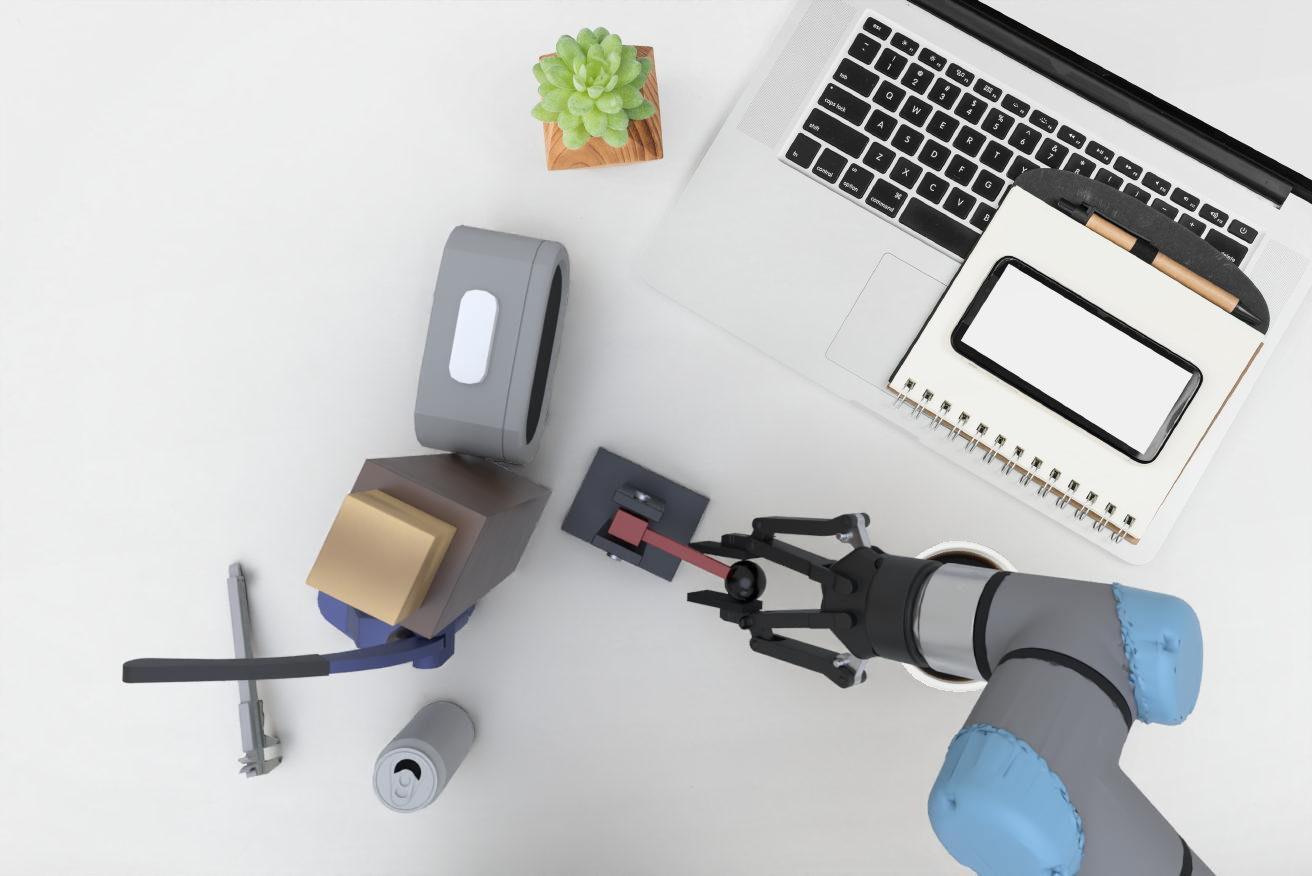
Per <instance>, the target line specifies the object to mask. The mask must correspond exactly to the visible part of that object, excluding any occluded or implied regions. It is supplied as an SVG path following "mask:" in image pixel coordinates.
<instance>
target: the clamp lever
mask: <svg viewBox="0 0 1312 876" xmlns="http://www.w3.org/2000/svg"><path fill="white" fill-rule="evenodd" d="M648 524H649V520H648V519H646V518H644V517H642V516H639V515H637V514H635V513H633V512H631V511H629V510H627V509H625V508H623V507H619V509H618V511H617V513H616V515H615V517H614V519H613V522H612V524H611V526H610V528H609V530H608V533H609V534H612V535H614V536H616V537H618V538H620V539H622V540H624V541H626V542H628V543H631V544H633V545H635V546H637V547H638V545H639V543H640V541H641V540H642V541H644V542H646V543H649V544H651V545H653V546H655V547H657V548H659V549H661V550H663V551H666V552H668V553H670V554H672V555H674V556H676V557H678V558H680V559H682V560H681V561H685V562H686V563H689V564H691V565H693V566H696V567H697V568H700V569H702V570H704V571H706V572H708V573H709V574H712V575H714V576H717V577H719V578H721V579H723V583H724V588H725V591H726V593H727V594H729V595H730V596H731V597H732V598H733V599H734V600H736V601H738V602H742V603H749V602H753V601H755V600H759V599H760V598H761V597H762V596H763V594H764V593H765V591H766V588H767V583H768V582H767V574H766V573H765V570H764V569H763V568H762V567H761V566H760V565H759V564H758V563H757V562H755V561H753V560H751V559H749V560H737V561H735V562H734V563H732V564H731V565H728V564H727V563H724V562H722V561H720V560H717V559H716V558H713V557H712V556H710V555H708V554H703V553H701V552H699V551H696V550H694V549H692V548H690V547H688V546H686V545H684V544H682V543H680V542H677V541H675V540H673V539H671V538H669V537H667V536H665V535H663V534H660V533H658V532H656V531H654V530H652V529H650V528H648V527H647V526H648Z"/></svg>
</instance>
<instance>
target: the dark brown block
mask: <svg viewBox="0 0 1312 876" xmlns="http://www.w3.org/2000/svg"><path fill="white" fill-rule="evenodd" d="M376 489H377V490H379V491H382V492H384V493H386V494H388V495H390V496H392V497H394V498H396V499H398V500H400V501H402V502H404V503H407V504H409V505H411V506H413V507H415V508H417V509H419V510H421V511H423V512H425V513H427V514H429V515H432V516H434V517H436V518H438V519H440V520H442V521H444V522H446V523H448V524H450V525H452V526H454V527H456V528H457V530H456V532H455V534H454V537H453V539H452V541H451V543H450V545H449V547H448V549H447V551H446V554H445V556H444V558H443V560H442V562H441V564H440V566H439V568H438V571H437V573H436V575H435V577H434V579H433V581H432V583H431V585H430V588H429V590H428V592H427V594H426V596H425V598H424V600H423V602H422V605H421V607H420V609H419V610H417V611H416V612H414V613H413V614H411V615H409V616H408V617H406V618H405V619H403V620H402V621H400V622H399V623H397V624H399V625H401V626H403V627H405V628H407V629H409V630H411V631H413V632H416V633H418V634H420V635H422V636H424V637H426V638H428V639H431V638H433V637H434V636H435V635H436V634H437V633H439V632H440V631H441V630H442V629H444V628H445V627H446V626H447V625H449V624H450V623H451V622H452V621H453V620H455V619H456V618H457V617H458V616H460V615H461V614H462V613H463V612H465V611H466V610H467V609H468V608H470V607H471V606H472V605H473V604H474V603H475V604H476V603H477V602H479V601H480V600H481V599H482V598H483V597H484V596H486V595H488V593H489V592H491V591H492V590H493V589H495V588H496V587H497V586H498V585H500V583H502V582H503V581H504V580H505V579H507V578H508V577H509V576H510V575H512V574H513V573H514V572H515V571H516V569H517V566H518V565H519V562H520V560H521V558H522V556H523V554H524V552H525V550H526V547H527V545H528V543H529V542H530V539H531V537H532V535H533V533H534V531H535V528H536V526H537V524H538V522H539V520H540V518H541V516H542V514H543V511H544V509H545V507H546V505H547V503H548V501H549V499H550V496H551V494H552V493H553V489H551V488H549V487H547V486H544V485H542V484H541V483H538V482H536V481H534V480H533V479H530V478H527V477H526V476H524V475H522V474H519V473H518V472H515V471H513V470H511V469H509V468H507V467H505V466H503V465H500V464H498V463H496V462H494V461H493V460H491V459H486V458H480V457H475V456H470V455H464V454H459V453H453V452H449V453H437V454H420V455H405V456H391V457H390V456H389V457H376V458H366V459H365V461H364V463H363V465H362V467H361V469H360V470H359V474H358V476H357V478H356V480H355V482H354V484H353V486H352V488H351V490H350V493H349V494H353V493H359V492H365V491H370V490H376Z"/></svg>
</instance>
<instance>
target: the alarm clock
mask: <svg viewBox="0 0 1312 876" xmlns="http://www.w3.org/2000/svg"><path fill="white" fill-rule="evenodd" d="M570 277H571V263H570V256H569V252H568V249H567V247H566V246H565V245H564V244H563V243H562V242H559V241H554V240H548V239H547V240H546V239H544V238H538V237H531V236H527V235H520V234H516V233H511V232H503V231H499V230H492V229H485V228H481V227H474V226H470V225H463V224H460V225H456V226H455V227H454V228H453V229H452V231H451V232H450V233H449V235H448V237H447V240H446V242H445V245H444V247H443V250H442V255H441V259H440V263H439V268H438V273H437V278H436V282H435V289H434V294H433V297H432V298H433V299H432V305H431V310H430V314H429V315H430V316H429V322H428V327H427V332H426V336H425V337H426V338H425V342H424V347H423V348H424V349H423V354H422V359H421V365H420V370H419V371H420V372H419V376H418V382H417V390H416V397H415V403H414V404H415V405H414V412H413V418H414V419H413V421H414V433H415V437H416V440H417V442H418V443H419V444H420V446H421V447H424V448H427V449H432V450H437V451H444V452H449V453H459V454H464V455H470V456H475V457H480V458H486V459H488V460H490V461H498V462H503V463H507V464H508V463H509V464H513V465H519V466H525V465H526V464H528V463H530V462H531V461H532V460H533V459H534V458H535V456H536V453H537V451H538V448H539V446H540V443H541V439H542V436H543V433H544V429H545V425H546V424H545V423H546V418H547V413H548V411H549V410H548V409H549V404H550V399H551V393H552V389H553V383H554V377H555V371H556V366H557V362H558V361H557V360H558V355H559V349H560V344H561V339H562V333H563V326H564V323H565V315H566V310H567V305H568V297H569V290H570V280H571V279H570Z"/></svg>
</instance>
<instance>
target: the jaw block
mask: <svg viewBox="0 0 1312 876" xmlns="http://www.w3.org/2000/svg"><path fill="white" fill-rule="evenodd" d="M456 530H457V528H456V527H454V526H452V525H450V524H448V523H446V522H444V521H442V520H440V519H438V518H436V517H434V516H432V515H429V514H427V513H425V512H423V511H421V510H419V509H417V508H415V507H413V506H411V505H409V504H407V503H404V502H402V501H400V500H398V499H396V498H394V497H392V496H390V495H388V494H386V493H384V492H382V491H379V490H377V489H376V490H370V491H365V492H359V493H353V494H350V493H347V494H346V495H345V497H344V499H343V501H342V503H341V506H340V508H339V510H338V512H337V513H336V515H335V519H334V521H333V523H332V525H331V527H330V529H329V531H328V533H327V536H326V538H325V540H324V542H323V544H322V546H321V548H320V550H319V553H318V555H317V557H316V558H315V561H314V563H313V566H312V568H311V569H310V571H309V573H308V576H307V579H306V580H305V585H307V586H309V587H311V588H314V589H316V590H317V591H318V592H319V591H321V592H324V593H326V594H328V595H330V596H332V597H334V598H336V599H338V600H340V601H342V602H344V603H346V604H348V605H350V606H352V607H355V608H357V609H359V610H361V611H363V612H365V613H367V614H369V615H371V616H373V617H375V618H377V619H379V620H381V621H383V622H386V623H388V624H390V625H392V626H394V625H396V624H397V623H399V622H400V621H402V620H403V619H405V618H406V617H408V616H409V615H411V614H413V613H414V612H416V611H417V610H419V609H420V607H421V605H422V602H423V600H424V598H425V596H426V594H427V592H428V590H429V588H430V585H431V583H432V581H433V579H434V577H435V575H436V573H437V571H438V568H439V566H440V564H441V562H442V560H443V558H444V556H445V554H446V551H447V549H448V547H449V545H450V543H451V541H452V539H453V537H454V534H455V532H456Z"/></svg>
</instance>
